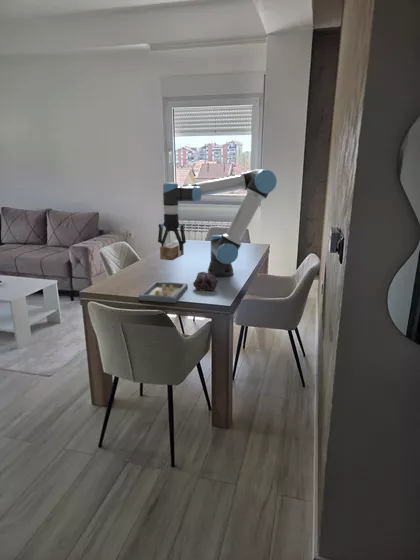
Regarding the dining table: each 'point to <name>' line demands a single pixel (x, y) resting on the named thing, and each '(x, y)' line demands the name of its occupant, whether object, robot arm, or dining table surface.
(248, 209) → the robot arm
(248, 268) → the dining table surface
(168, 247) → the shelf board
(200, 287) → the rock
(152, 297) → the grey shallow tray
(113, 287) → the dining table surface
